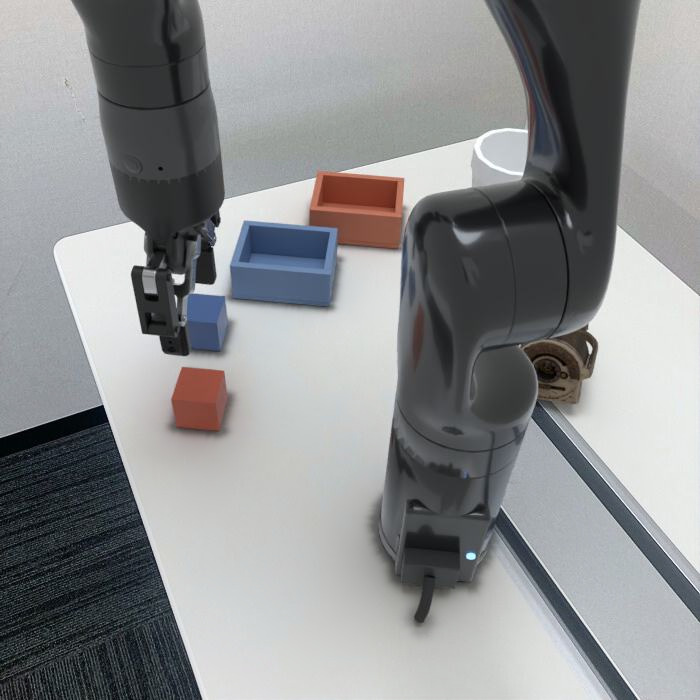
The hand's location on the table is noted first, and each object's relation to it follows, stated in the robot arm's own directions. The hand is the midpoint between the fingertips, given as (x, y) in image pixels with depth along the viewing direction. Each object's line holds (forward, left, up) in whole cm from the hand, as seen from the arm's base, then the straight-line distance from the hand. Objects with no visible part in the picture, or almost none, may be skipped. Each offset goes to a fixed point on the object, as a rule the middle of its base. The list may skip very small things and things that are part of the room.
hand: (191, 315), depth 63 cm
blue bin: (+19, -5, -12) cm, 23 cm away
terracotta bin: (+30, -12, -12) cm, 35 cm away
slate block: (+9, +2, -12) cm, 16 cm away
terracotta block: (-1, 0, -12) cm, 12 cm away
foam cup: (+28, -29, -12) cm, 42 cm away
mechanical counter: (+9, -34, -12) cm, 37 cm away
